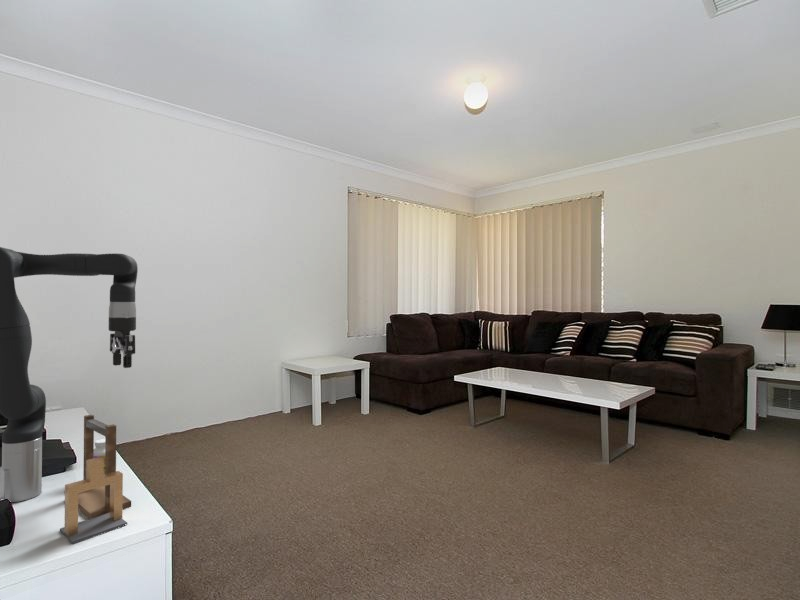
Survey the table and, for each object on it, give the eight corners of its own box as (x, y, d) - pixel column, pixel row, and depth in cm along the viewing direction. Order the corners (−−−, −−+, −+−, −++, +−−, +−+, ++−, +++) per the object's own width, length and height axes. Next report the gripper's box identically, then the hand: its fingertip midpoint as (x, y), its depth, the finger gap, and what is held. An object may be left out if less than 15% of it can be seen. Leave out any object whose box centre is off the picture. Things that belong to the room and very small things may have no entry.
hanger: (68, 536, 109) (68, 467, 110) (64, 532, 111) (65, 464, 111) (122, 518, 119) (122, 454, 119) (118, 514, 121) (118, 452, 121)
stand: (90, 519, 119) (91, 430, 120) (67, 499, 132) (68, 418, 132) (131, 506, 127) (131, 422, 127) (105, 488, 140) (106, 412, 140)
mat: (72, 544, 107) (72, 541, 107) (59, 530, 113) (59, 528, 113) (127, 524, 116) (127, 522, 116) (112, 513, 123) (112, 511, 123)
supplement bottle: (87, 484, 143) (87, 444, 143) (94, 476, 149) (95, 438, 149) (110, 482, 145) (111, 442, 145) (117, 474, 151) (117, 436, 151)
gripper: (101, 316, 144) (100, 365, 144) (117, 316, 135) (117, 369, 135) (126, 315, 150) (126, 363, 150) (144, 316, 141) (143, 367, 141)
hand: (122, 366), depth 143 cm, fingers open, 8 cm apart
